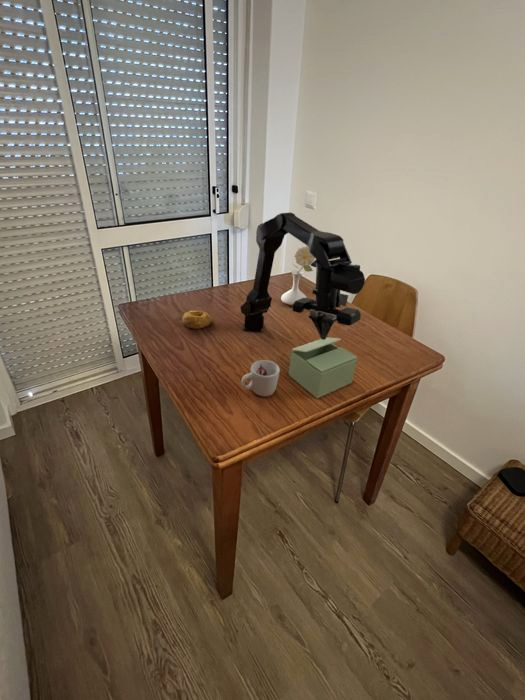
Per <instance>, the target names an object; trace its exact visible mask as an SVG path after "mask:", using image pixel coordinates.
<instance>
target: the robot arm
mask: <svg viewBox="0 0 525 700" xmlns="http://www.w3.org/2000/svg"><path fill="white" fill-rule="evenodd" d="M288 234H289V235H291V236H292V237H294V238H295V239H297V240H298V241H300V242H301V243H303V245H306V246H307V247H308V248H309V252H310V253H311V254H312V255H313V256H314V257H315V259H314V261H313V262H312V263H311V265H310V267H313V268H315V269H316V270H315V288H314V289H312V295H314V299H313V298H312V299H311V298H308V297H307V298H302V299H299V300H297V301H295V302H294V303H293V305H292V312H294V313H298V314H301V313H303V312H304V310H308V311H310V314H309V315H308V319H310V320H311V321H312V323H313V325H314V327H315V329H316V331H317V333H318V335H319V337H320V339H322V340H325V339H326V337H328V335H329V333H330V331H331V328H332V326H333V325H334V324H335V322H337V323H338V324H340V325H344V326H353V325H354V324H356V323H357V322H359V321H361V316H362V314H361V311H360V309H357V308H353V307H346V306H347V302H348V299H349V295H348V294H352V295H357V294H359V293H360V292H361V290H363V288H364V286H365V282H366V278H365V274H364V272H363V271H362V270H361V265H360V264H352V262H353V261H352V259H351V256H350V254H349V252H348V250H347V248H346V245H345V243H344V238H342V236H340V235H339V234H336V233H332V232H327V231H322V230H319V229H317V228H316V227H314V226H312V225H311V224H309V223H307V222H306V221H304V220H303V219H301V218H300V217H298V216H297V215H296V214H295V213H293V212H291V211H290V212H281V213H278V214H277V215H275V216H274V217H273V218H270V219H268V220H266V221H264V222H263V223H259V224H257V227H256V232H255V242H256V244H257V246H258V249H259V251H258V255H257V261H256V262H257V263H256V269H255V275H254V279H253V282H254V283H253V287H252V288H251V290H250V291H249V292H248V293H247V295H246V299H245V302H244V303H243V304H242V305H240V312H241V314H243V316H244V326H243V331H247V332H256V333H261V332H262V330H263V329H264V326H265V315H264V314H267V313H268V311H269V309H270V308H271V306H272V301H273V298H272V296H271V295H270V293H269V284H270V280H271V274H272V269H273V264H274V259H275V254H276V252H277V250H279V248H280V247H281V246H282V244H283V241H284V238H285V236H286V235H288ZM341 291H342V292H345V293H348V294H344V293H341ZM341 306H343V307H345V308H343V309H338V308H341Z"/></svg>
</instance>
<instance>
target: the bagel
mask: <svg viewBox="0 0 525 700" xmlns="http://www.w3.org/2000/svg"><path fill="white" fill-rule="evenodd" d="M181 320H182V323H183V324H184V325H185V326H186V327H187V328H190V329H195V330H197V329H198V330H199V329H204V328H206V327H208V326H209V325H210V324H211V323H212V322H213V317H211V315H209V313H208V312H206V311H205V310H189V311H187V312H185V313H184V314H183V315H182V319H181Z"/></svg>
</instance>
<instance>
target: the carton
mask: <svg viewBox="0 0 525 700" xmlns="http://www.w3.org/2000/svg"><path fill="white" fill-rule="evenodd" d="M357 361H358V356H356V355H355V354H353V353H352V352H350V351H349V350H347V349H346V348H344V347H342V346H340V347H338V346H337V345H335V344H334V343H331V344H328V345H325V346H323V347H320V348H317V349H314V350H311V351H309V352H300V351H293V350H291V351H290V359H289V366H288V376H289V377H290V378H292V379H293V380H294V381H295V382H296V383H298V384H299V385H300V386H301V387H302V388H304V389H305V390H306V391H307V392H308V393H310V394H311V395H312V396H313V397H314V398H316V399H320V398H322V397H324V396H326V395H329V394H331V393H332V392H334V391H337V390H339V389H341V388H343V387H345V386H348V385H351V384H352V383H353V379H354V374H355V371H356V366H357Z"/></svg>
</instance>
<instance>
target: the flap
mask: <svg viewBox="0 0 525 700" xmlns="http://www.w3.org/2000/svg"><path fill="white" fill-rule="evenodd" d="M339 341H342V338H338V337H328V336H327V337H326V339H325V340H322V339H321V338H320V339H316V340H314V341H311V342H308V343H305V344H302V345H298V346H297V347H294V348H291V351H300V352H309V351H311V350H314V349H317V348H320V347H323V346H325V345H328V344H331V343H332V344H334V343H336V342H339Z"/></svg>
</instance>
